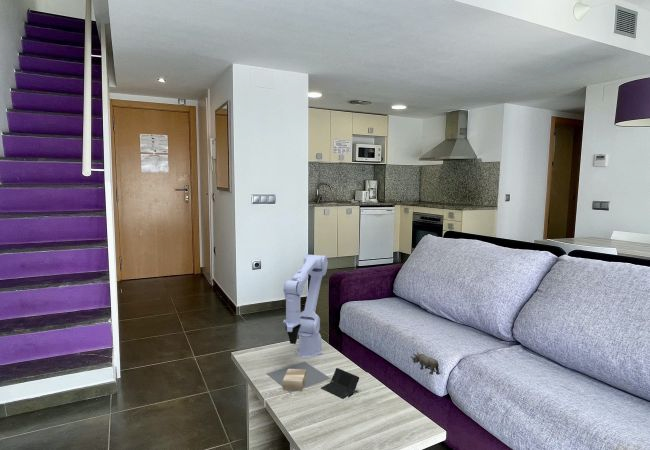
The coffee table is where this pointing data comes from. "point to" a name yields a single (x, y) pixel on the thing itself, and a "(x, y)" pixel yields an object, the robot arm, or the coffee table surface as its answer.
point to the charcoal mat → (311, 373)
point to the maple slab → (294, 379)
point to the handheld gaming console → (342, 384)
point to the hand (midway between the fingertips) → (293, 343)
